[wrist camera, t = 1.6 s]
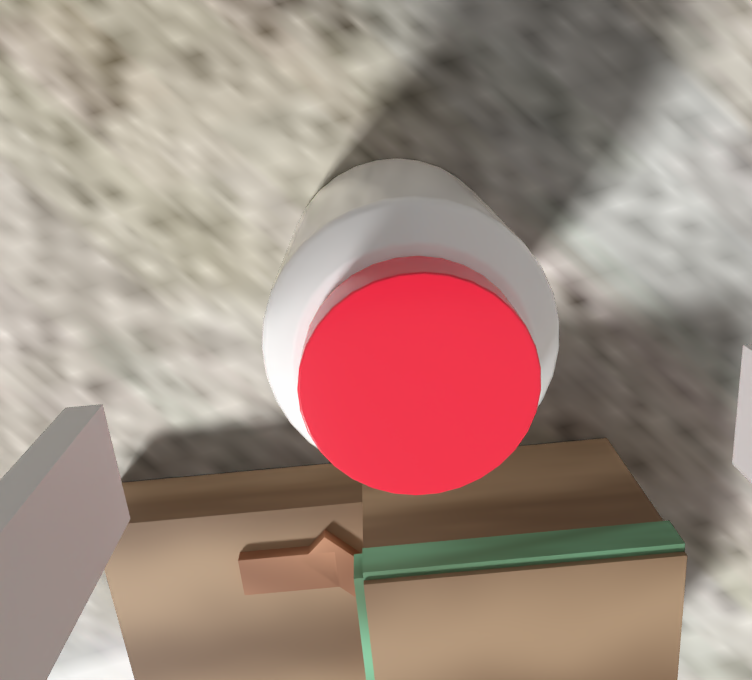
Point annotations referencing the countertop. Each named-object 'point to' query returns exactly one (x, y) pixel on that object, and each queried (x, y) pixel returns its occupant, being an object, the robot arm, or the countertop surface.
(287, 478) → the stand
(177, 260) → the countertop surface
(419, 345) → the pill bottle
